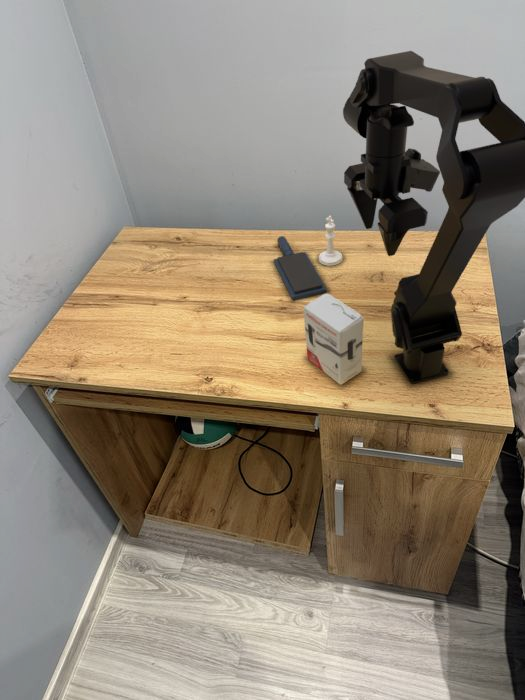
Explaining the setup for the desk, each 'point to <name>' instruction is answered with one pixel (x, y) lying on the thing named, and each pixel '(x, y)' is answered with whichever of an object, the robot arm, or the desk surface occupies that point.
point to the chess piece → (330, 246)
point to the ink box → (334, 337)
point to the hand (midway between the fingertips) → (379, 241)
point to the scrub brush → (298, 272)
